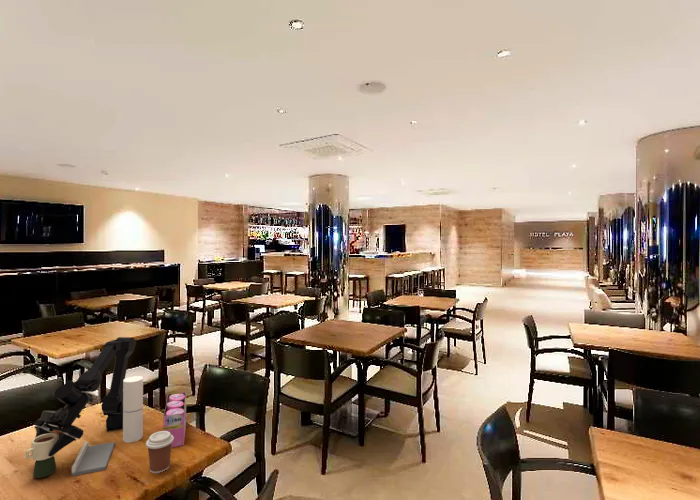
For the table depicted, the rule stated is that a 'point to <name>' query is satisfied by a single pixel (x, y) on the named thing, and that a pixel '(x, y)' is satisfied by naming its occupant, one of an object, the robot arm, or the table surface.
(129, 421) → the cylindrical container
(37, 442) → the character mug
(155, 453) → the coffee cup
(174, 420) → the gum box
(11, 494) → the table surface
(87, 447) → the shelf board
